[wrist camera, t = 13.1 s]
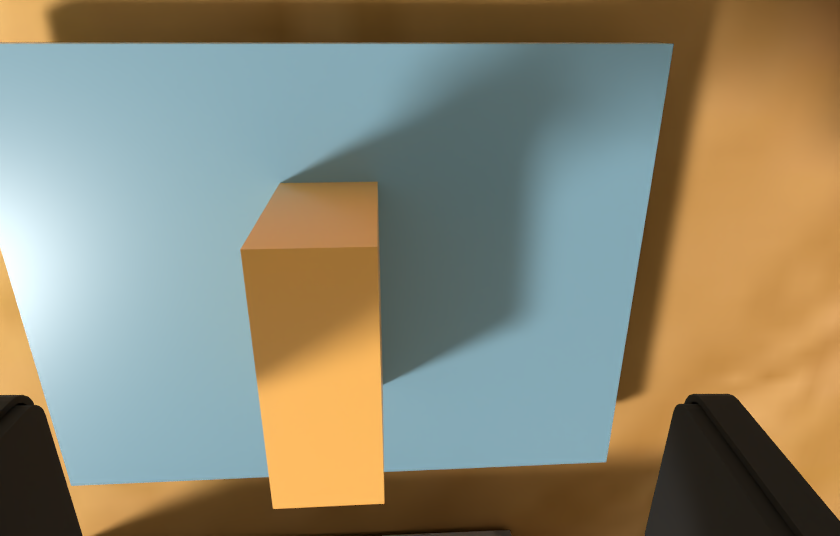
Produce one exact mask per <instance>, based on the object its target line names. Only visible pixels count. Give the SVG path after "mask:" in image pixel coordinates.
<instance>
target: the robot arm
mask: <svg viewBox="0 0 840 536" xmlns="http://www.w3.org/2000/svg"><path fill="white" fill-rule="evenodd" d="M0 536H82V532H81V529H80V526H79V523H78V519H77V516H76V513H75V509H74V506H73V503H72V500H71V496H70V493H69V490H68V487H67V483H66V480H65V477H64V474H63V470H62V467H61V464H60V461H59V457H58V454H57V451H56V448H55V444H54V441H53V438H52V435H51V431H50V428H49V425H48V422H47V418H46V415H45V413H44V410H43V409H42V408H41V407H40V406H37V405H34V403H33V401H32V400H31V399H30V398H29V397H28V396H24V395H0ZM645 536H840V521H839V520H838V518H837V517H836V516H835V515H834V514H833V513H832V511H831V510H830V509H829V508H828V507H827V505H826V504H825V503H824V502H823V501H822V499H821V498H820V497H819V496H818V495H817V493H816V492H815V491H814V490H813V489H812V487H811V486H810V485H809V484H808V483H807V481H806V480H805V479H804V478H803V477H802V475H801V474H800V473H799V472H798V471H797V470H796V468H795V467H794V466H793V465H792V464H791V462H790V461H789V460H788V459H787V458H786V456H785V455H784V454H783V453H782V452H781V450H780V449H779V448H778V447H777V446H776V444H775V443H774V442H773V441H772V440H771V438H770V437H769V436H768V435H767V434H766V432H765V431H764V430H763V429H762V428H761V427H760V425H759V424H758V423H757V422H756V421H755V419H754V418H753V417H752V416H751V415H750V413H749V412H748V411H747V410H746V409H745V407H744V406H743V405H742V404H741V403H740V401H739V400H738V399H737V398H736V397H734V396H733V395H730V394H692V395H689V396H688V397H687V399H686V401H685V403H684V404H678V405H677V406H676V407H675V409H674V412H673V416H672V420H671V424H670V429H669V433H668V437H667V441H666V446H665V450H664V454H663V458H662V463H661V467H660V471H659V475H658V480H657V484H656V488H655V492H654V497H653V501H652V505H651V509H650V514H649V518H648V522H647V526H646V531H645Z"/></svg>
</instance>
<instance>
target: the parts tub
mask: <svg viewBox="0 0 840 536" xmlns="http://www.w3.org/2000/svg"><path fill="white" fill-rule="evenodd" d="M384 536H511V532H510V530H498V531H475V532H452V533H429V534H406V535H384Z"/></svg>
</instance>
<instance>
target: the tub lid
mask: <svg viewBox="0 0 840 536" xmlns="http://www.w3.org/2000/svg"><path fill="white" fill-rule="evenodd" d="M673 45H674V44H669V43H508V42H0V248H1V251H2V254H3V258H4V261H5V264H6V268H7V271H8V275H9V278H10V281H11V285H12V288H13V291H14V295H15V298H16V301H17V305H18V308H19V311H20V315H21V318H22V322H23V325H24V328H25V332H26V335H27V338H28V342H29V345H30V348H31V352H32V355H33V358H34V362H35V365H36V369H37V372H38V375H39V379H40V382H41V385H42V389H43V392H44V395H45V399H46V402H47V405H48V409H49V412H50V416H51V419H52V422H53V426H54V429H55V432H56V436H57V439H58V442H59V446H60V449H61V452H62V456H63V459H64V463H65V466H66V469H67V473H68V476H69V479H70V483H71V486H76V485H99V484H122V483H144V482H167V481H189V480H212V479H235V478H257V477H269V482H270V490H271V498H272V506H273V509H282V508H303V507H324V506H345V505H366V504H384V472H393V471H415V470H438V469H461V468H483V467H506V466H528V465H551V464H574V463H596V462H606V460H607V454H608V447H609V441H610V435H611V429H612V423H613V417H614V410H615V404H616V398H617V392H618V386H619V379H620V373H621V367H622V361H623V355H624V348H625V342H626V336H627V330H628V324H629V318H630V311H631V305H632V299H633V293H634V287H635V280H636V274H637V268H638V262H639V256H640V249H641V243H642V237H643V231H644V225H645V219H646V212H647V206H648V200H649V194H650V188H651V181H652V175H653V169H654V163H655V157H656V150H657V144H658V138H659V132H660V126H661V120H662V113H663V107H664V101H665V95H666V89H667V82H668V76H669V70H670V64H671V58H672V52H673Z"/></svg>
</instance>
